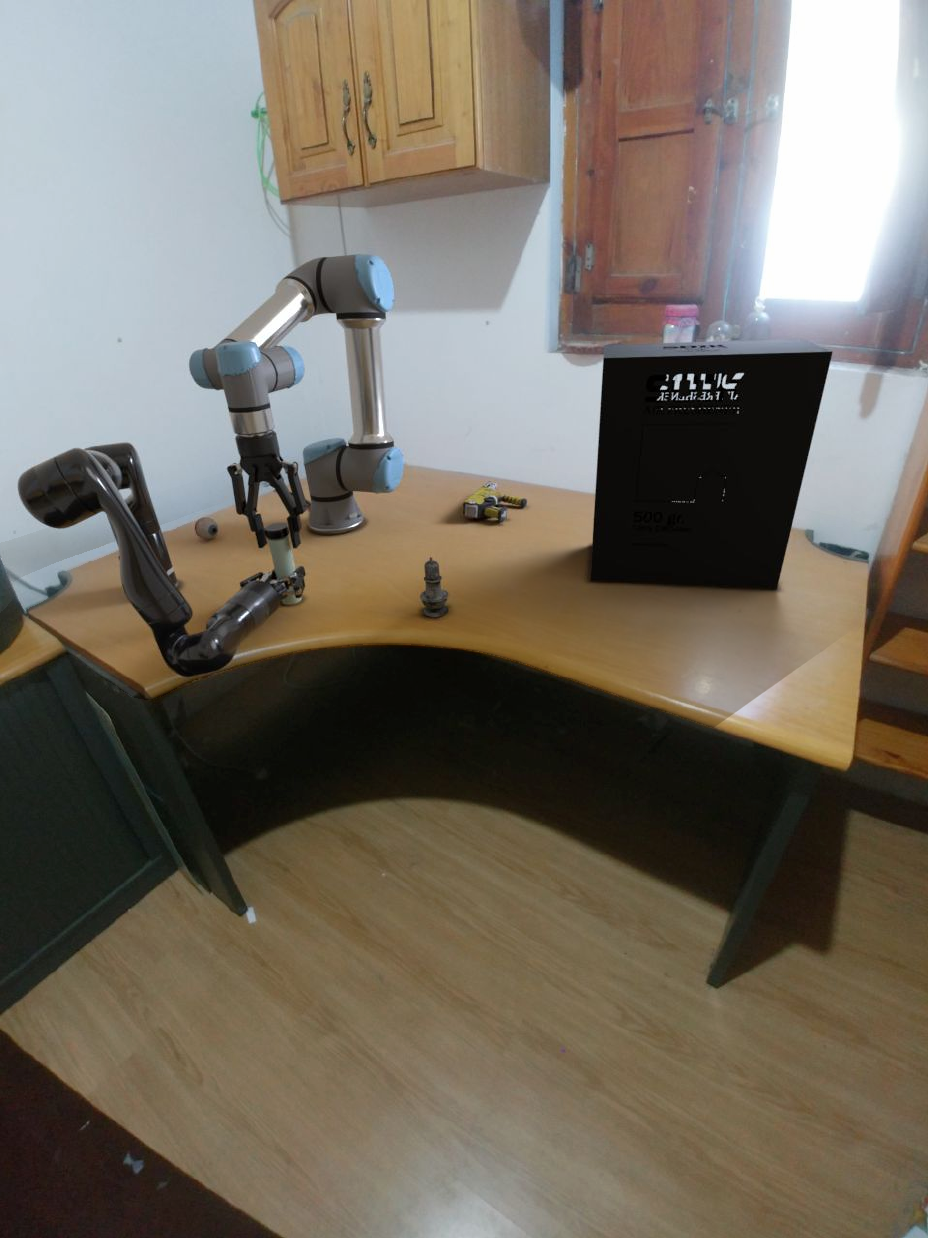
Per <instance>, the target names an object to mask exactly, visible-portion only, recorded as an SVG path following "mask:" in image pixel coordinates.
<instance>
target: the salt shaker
mask: <svg viewBox="0 0 928 1238" xmlns="http://www.w3.org/2000/svg"><path fill="white" fill-rule="evenodd" d="M423 567H424V577H423V581H424V582H425V590H424V591H422V592H421V593H420V594H419V599H420V600H421V603H422V605H423V606H424V608H422V614H423V615H424V616H426V617H429V618H438V617H442V616H444V615H446V614H448V612H449V607H448V606H447V605H446V603H447V602H448V598H449V595H450V594H449V592H448V591H447V590H445V589H443V588H442V582H441V581H442V579H443V577H442V575H441V574H440V564H439V562H438V561H437V560H434V559H433V557H432V556H430V557H429V559H428V561H426V562H425V563H424V566H423Z"/></svg>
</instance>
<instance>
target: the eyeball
mask: <svg viewBox="0 0 928 1238" xmlns="http://www.w3.org/2000/svg"><path fill="white" fill-rule="evenodd" d="M219 529H220V527H219V524H218V523H217V521H216V520H214V519H213V518H211V517H207V516H204V517H200V518H199V519H198V520H196V521H195V525H194V532H195V534H196V535H197V536H198V538H200V539H202V540H204V541H205V540H206V541H207V540H208V541H209V540H212V539H214V538H216V537H217V535H218V533H219Z"/></svg>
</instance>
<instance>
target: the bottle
mask: <svg viewBox="0 0 928 1238" xmlns="http://www.w3.org/2000/svg"><path fill="white" fill-rule="evenodd" d="M267 543H268V545H269V546H268V547H269V550H270V555H271V560H272V563H273V569H274V568H275V572H276V577H277V579H279V578H281V577H282V576H288V575H290V574H292V573H293V572H294V571H295V570H296V569H297V568H296V564H295V561H294V555H293V551H292V546H291V545H292V544H291V539H290V535H288V536H286V537H284V538H281V539H268V538H267ZM291 583H293V581H292V579H291ZM302 597H303V596H302ZM302 597H301V598H296V597H295V595H288V596H287V598H285V599H283V600H281V602H282V604H283V605H287V606H291V605H296V604H298V603H300V602H301V601H302Z"/></svg>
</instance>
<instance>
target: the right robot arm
mask: <svg viewBox="0 0 928 1238" xmlns="http://www.w3.org/2000/svg"><path fill="white" fill-rule="evenodd" d="M394 301H395V289H394V283H393V279H392V275H391V272H390V270H389V269H388V267H387V265H386V263H385V262H384V261H383V259H382V258H381V257H379V256H378V255H376V254H367V253H366V254H364V253H357V254H347V255H336V256H335V255H334V256H321V257H320V256H319V257H317V258H312V259H311V260H309V261H307V262H304V263H303V264H301V265H300V266H298V267H297V268H295V269H293V270H292V271H291V272H289V273H288V274H287V275H286V276H284V277H283V278H282V279H281V280H280V281H279V282H278V283H277V284H276V287H275V289H274V293H273V294H272V295H271V296H270V297H269V298H268V299H267V300H266V301H264V302H263V303H262V304H260V306H259V307H258V308H256V310H254V311H253V312H252V313H251V314H250V315H249V316H247V317H246V319H244V320H243V321H242V322H241V323H240V324H239V325H237V326H236V327H235V328H234V329H233V330H232V331H230V333H228V334H227V335H226V336H225V337H224V338H223V339H222V340H221V341H219V342H218V343H217V344H216V345H215V346H214V347H212V348H208V347H205V348H203V349H202V348H201V349H197V350H195V351H193V352H192V353H191V355H190V356H189V357H190V358H189V360H188V368H189V372H190V373H189V374H190V376H191V378H192V379H193V381H194V382H195V383H196V385H197V386H198V387H200V388H202V389H205V390H215V391H221V390H222V391H223V392H224V396H225V400H226V404H227V409H228V414H229V418H230V423H231V428H232V432H233V433H234V435H235V434H236V435H235V437H234V440H235V444H236V448H237V452H238V455H239V457H240V459H239V462H233V463H232V464H230V465H228V466H227V467H226V471H227V472H228V474H229V476H230V479H231V484H232V491H233V498H234V499H233V500H234V506H235V511H236V514H237V515H239V516H241V515H242V516H245V517H246V519H247V521H248V525H249V529H250V531H251V532H252V533H254V534H255V539H256V542H257V546H258V549H263V548H264V547H265V546H266V545H267V544H268V538H266V535H265V529H264V528H265V527H264V522H263V518H262V517H263V516H262V514H261V513H258V511H259V510H258V502H259V494H260V485H261V483H263V482H265V483H268V484H269V486H270V487H272V488H273V489H274V490H275V491H276V494H277V495H278V497H279V499H280V501H281V503H282V504H283V506H284V508H285V509H286V512H287V513H288V516H287V517H286V522H287V526H288V529H289V537H290V542H291V545H292V546H291V547H292V549H298V547H299V546H300V545H301V544H302V540H301V535H300V531H301V530H302V528H303V525H302V521H301V515H303V514H304V513H305V512H306V511H307V510H308V506H309V513H308V521H307V522H308V523H307V524H308V528H309V529H308V530H310V531H311V532H312V533H314V534H317V535H323V536H324V535H325V536H327V535H329V536H331V535H339V534H340V535H341V534H345V533H350V532H353V531H355V530H357V529H359V528H361V527H362V526H363V525H364V523H365V519H364V514H363V512H362V510H361V508H360V505H359V504H358V501H357V500H356V498H355V495H354V492H359V493H371V494H372V493H374V494H376V495H377V494H390V493H392V492H394V491H395V490H396V489H397V488H398V486H399V485H400V483H401V481H402V478H403V474H404V466H405V459H404V454H403V450H401V449H400V448H398V446H395V441H394V439H395V438H393V436H392V435H391V434H389V433H388V422H387V421H388V420H387V407H386V392H385V379H384V365H383V364H384V363H383V351H382V335H381V334H382V333H381V329H382V327H383V325H384V324H385V323H386V322H387V313H388V312H389V311H391V310H392V309H393V307H394ZM326 314H335V316H336V322H337V323H338V324H339V326H340V327H342V330H343V334H344V344H345V345H344V346H345V356H346V357H345V358H346V368H347V378H348V391H349V400H350V411H351V423H352V434H351V436H350V437H349V438H348V440H347V441H346V439H345V438H342V437H334V438H328V439H323V440H320V441H319V440H318V441H316V442H313V443H309V444H308V445H306V446H305V447H304V448H303V450H302V457H303V458H302V460H303V467H304V471H305V477H306V481H307V486H308V492H309V498H310V501H308V500H307V499H306V496H305V492H304V490H303V486H302V484H301V479H300V476H299V463H298V462H297V461H293V462H289V461H285V460H284V458H283V457H282V455H281V454H280V453H281V451H280V445H279V440H278V435H277V432H276V431H275V430H274V429H275V422H274V417H273V412H272V407H271V402H270V397H269V394H272V393H275V392H278V391H282V390H285V389H290V388H292V387H295V386H296V385H298V384H299V383H301V381H302V380H303V378H304V377H305V376H304V375H305V372H306V371H305V369H306V367H305V363H304V360H303V357H302V355H301V354H300V353H299V352H298V350H296V349H295V348H293V347H292V346H289V345H279V343H280V342H281V341H282V340H283V339H285V338H286V337H287V335H289V334H290V333H291V332H292V331H293V330H294V329H295V328H296V327H297V326H298V325H299V324H300V323H306V322H308V321H310V320H311V318H313V317H314V316H318V315H326ZM282 470H284V473H285V474H286V475H287V479H288V480H287V481H288V485H289V487H290V490H291V491H290V490H289V488H288V486H287V485H286V483H285V479H284V477H283V475H282V473H281V471H282ZM243 472H245V474H247V476H248V479H247V486H248V490H247V497H246V489H245V482H244V476H243Z"/></svg>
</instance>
